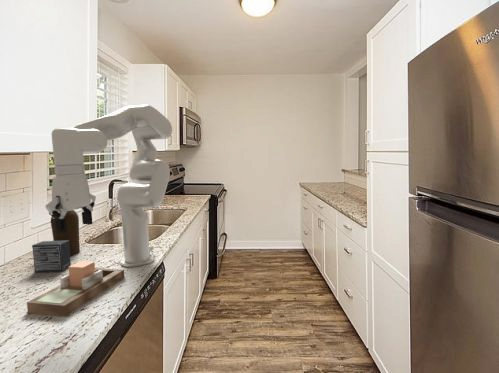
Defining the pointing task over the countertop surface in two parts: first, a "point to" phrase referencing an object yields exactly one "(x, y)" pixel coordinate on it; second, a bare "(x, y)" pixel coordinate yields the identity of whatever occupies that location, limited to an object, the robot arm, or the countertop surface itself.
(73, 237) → the olive oil
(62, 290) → the track
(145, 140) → the robot arm
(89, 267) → the block
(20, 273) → the countertop surface
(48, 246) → the small box
